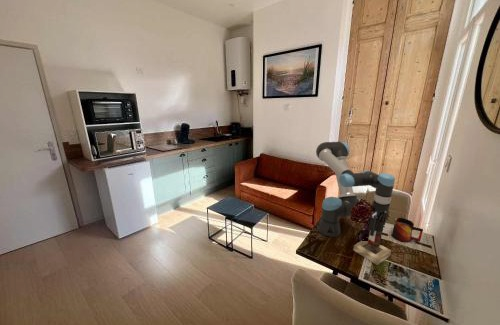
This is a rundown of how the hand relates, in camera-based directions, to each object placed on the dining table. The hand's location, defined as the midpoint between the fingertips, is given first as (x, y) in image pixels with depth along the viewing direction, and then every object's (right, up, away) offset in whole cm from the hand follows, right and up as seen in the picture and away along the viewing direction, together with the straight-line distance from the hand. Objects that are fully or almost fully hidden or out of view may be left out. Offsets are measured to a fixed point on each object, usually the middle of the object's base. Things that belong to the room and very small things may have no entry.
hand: (374, 238), depth 117 cm
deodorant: (0, -4, +1) cm, 4 cm away
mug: (+29, -6, +16) cm, 34 cm away
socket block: (0, -10, +3) cm, 10 cm away
